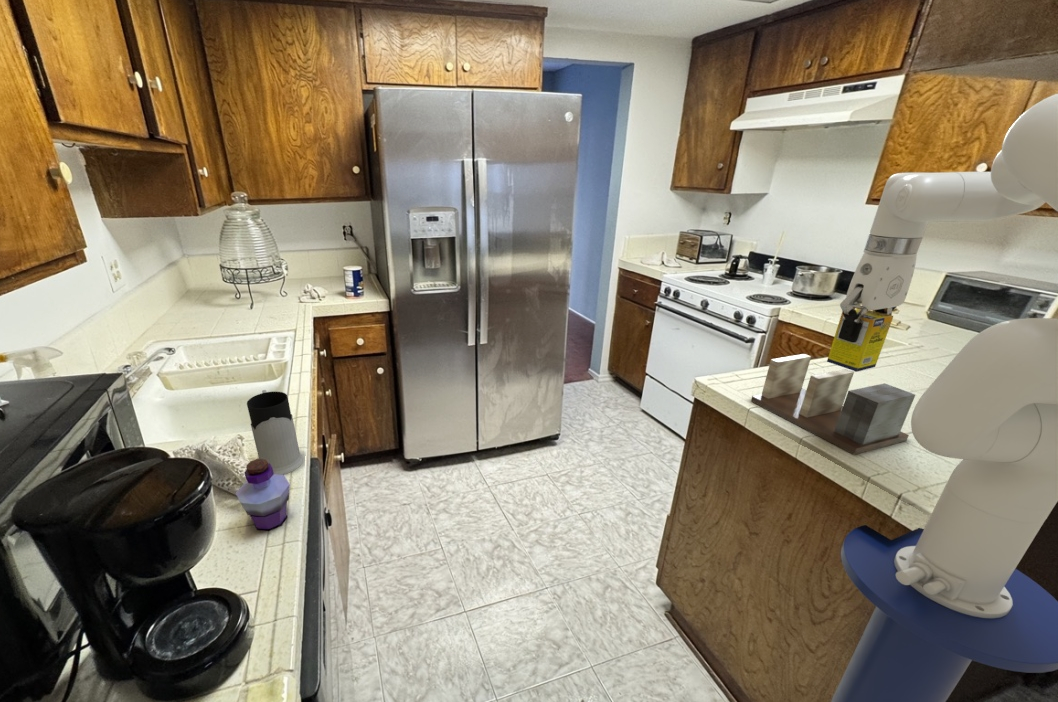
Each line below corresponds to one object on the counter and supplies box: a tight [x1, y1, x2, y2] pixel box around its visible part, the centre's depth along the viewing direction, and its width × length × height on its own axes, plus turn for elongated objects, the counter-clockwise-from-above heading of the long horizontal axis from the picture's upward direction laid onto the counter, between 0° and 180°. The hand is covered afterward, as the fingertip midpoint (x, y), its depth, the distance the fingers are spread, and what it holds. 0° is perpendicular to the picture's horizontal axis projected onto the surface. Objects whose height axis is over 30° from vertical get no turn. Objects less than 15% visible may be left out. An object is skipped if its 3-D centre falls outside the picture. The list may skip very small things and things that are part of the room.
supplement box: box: [826, 308, 894, 373], centre depth 93 cm, size 6×6×11 cm
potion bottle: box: [235, 458, 291, 532], centre depth 80 cm, size 9×9×12 cm
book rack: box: [750, 353, 916, 455], centre depth 109 cm, size 16×26×12 cm, turn 18°
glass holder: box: [246, 389, 304, 475], centre depth 97 cm, size 9×14×15 cm, turn 28°
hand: (859, 337), depth 93 cm, fingers closed on supplement box, 6 cm apart
